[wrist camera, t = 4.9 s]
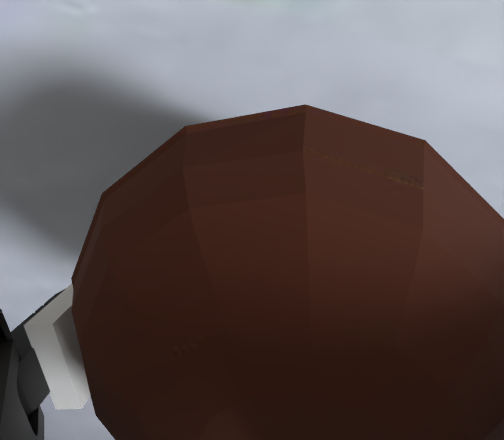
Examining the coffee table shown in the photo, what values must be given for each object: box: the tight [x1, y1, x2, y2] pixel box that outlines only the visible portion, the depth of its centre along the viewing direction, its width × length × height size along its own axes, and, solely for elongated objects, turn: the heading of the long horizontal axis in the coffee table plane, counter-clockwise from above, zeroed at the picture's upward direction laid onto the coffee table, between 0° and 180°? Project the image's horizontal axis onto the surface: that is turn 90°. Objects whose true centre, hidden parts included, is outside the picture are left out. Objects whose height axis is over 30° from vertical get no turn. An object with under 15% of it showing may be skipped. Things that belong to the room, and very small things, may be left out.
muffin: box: [71, 105, 504, 440], centre depth 10 cm, size 12×11×10 cm
